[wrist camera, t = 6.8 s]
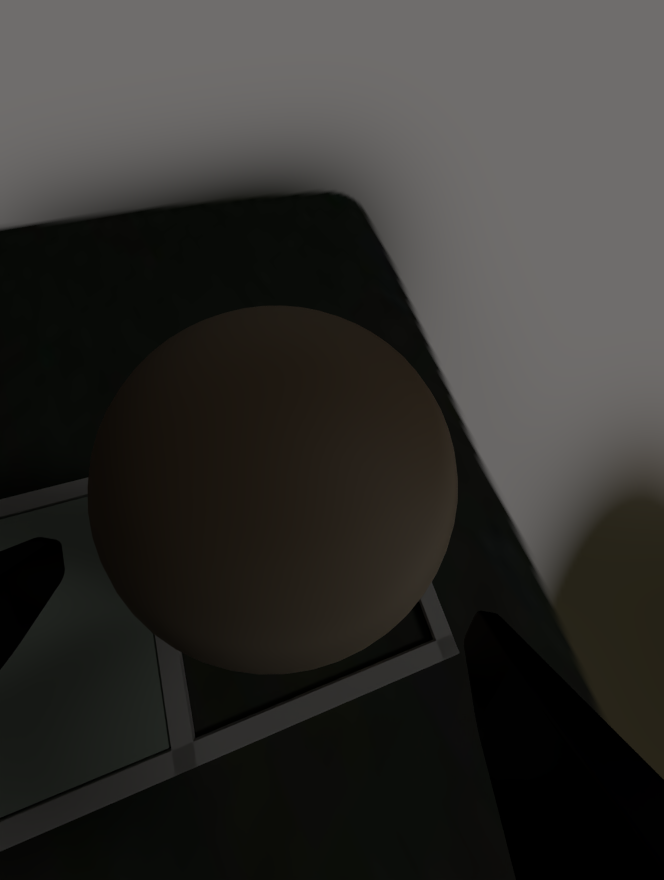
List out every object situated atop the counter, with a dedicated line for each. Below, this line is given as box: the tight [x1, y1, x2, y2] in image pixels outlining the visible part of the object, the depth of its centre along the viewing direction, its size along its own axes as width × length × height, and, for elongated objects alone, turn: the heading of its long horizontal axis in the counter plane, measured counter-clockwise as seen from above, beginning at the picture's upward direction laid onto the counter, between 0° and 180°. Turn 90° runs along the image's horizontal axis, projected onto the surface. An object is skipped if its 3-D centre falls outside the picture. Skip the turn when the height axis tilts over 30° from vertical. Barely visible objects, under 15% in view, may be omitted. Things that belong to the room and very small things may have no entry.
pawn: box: [88, 306, 458, 674], centre depth 10 cm, size 6×6×16 cm
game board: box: [0, 478, 459, 851], centre depth 16 cm, size 13×24×1 cm, turn 108°
